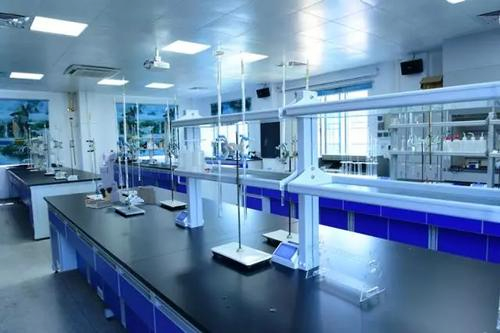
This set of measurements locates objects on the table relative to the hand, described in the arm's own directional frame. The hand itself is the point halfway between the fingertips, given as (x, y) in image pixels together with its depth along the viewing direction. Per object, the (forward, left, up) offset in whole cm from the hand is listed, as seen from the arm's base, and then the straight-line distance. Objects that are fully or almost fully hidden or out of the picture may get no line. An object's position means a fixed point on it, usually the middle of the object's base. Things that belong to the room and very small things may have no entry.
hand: (106, 197), depth 282 cm
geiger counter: (-27, +13, -9) cm, 31 cm away
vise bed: (0, -10, -8) cm, 13 cm away
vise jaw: (0, -20, -7) cm, 21 cm away
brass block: (0, 0, -2) cm, 2 cm away
